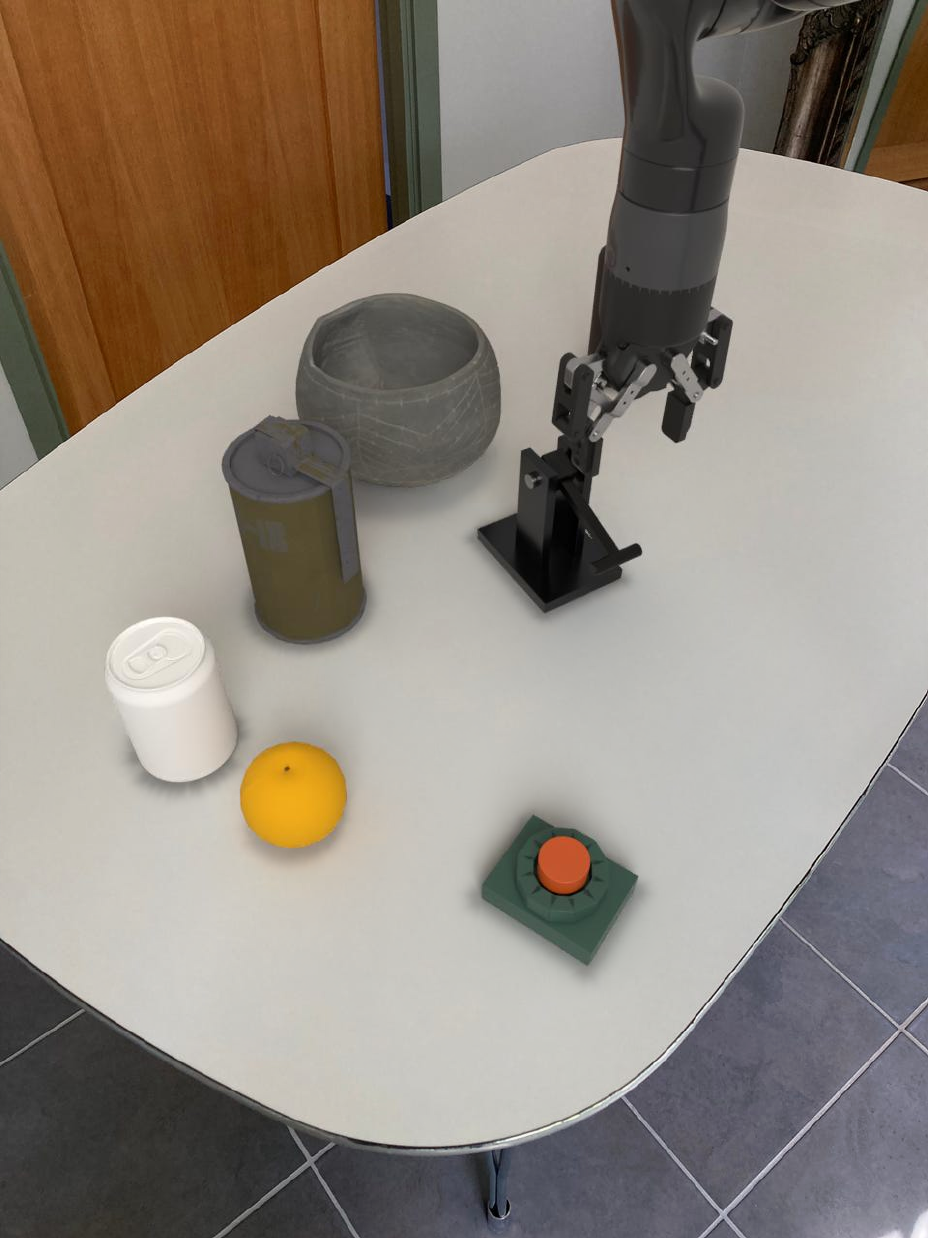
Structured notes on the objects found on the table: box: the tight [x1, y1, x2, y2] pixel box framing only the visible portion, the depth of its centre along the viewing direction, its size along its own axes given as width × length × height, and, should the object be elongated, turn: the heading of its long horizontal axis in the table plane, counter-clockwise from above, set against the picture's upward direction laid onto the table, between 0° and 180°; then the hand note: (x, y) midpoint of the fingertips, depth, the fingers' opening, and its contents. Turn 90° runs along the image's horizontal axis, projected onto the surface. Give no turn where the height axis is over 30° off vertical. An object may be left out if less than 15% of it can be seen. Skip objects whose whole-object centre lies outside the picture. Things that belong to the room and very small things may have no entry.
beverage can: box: [103, 616, 238, 783], centre depth 75 cm, size 8×8×12 cm
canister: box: [220, 414, 367, 645], centre depth 83 cm, size 11×10×20 cm
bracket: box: [477, 434, 623, 614], centre depth 90 cm, size 12×9×13 cm
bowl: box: [294, 292, 502, 488], centre depth 99 cm, size 21×21×15 cm
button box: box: [481, 814, 639, 967], centre depth 69 cm, size 9×7×4 cm
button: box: [537, 836, 590, 894], centre depth 67 cm, size 4×4×2 cm
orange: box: [239, 741, 348, 849], centre depth 72 cm, size 8×8×8 cm
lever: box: [540, 448, 643, 576], centre depth 85 cm, size 12×5×2 cm, turn 31°
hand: (630, 453), depth 75 cm, fingers open, 8 cm apart
